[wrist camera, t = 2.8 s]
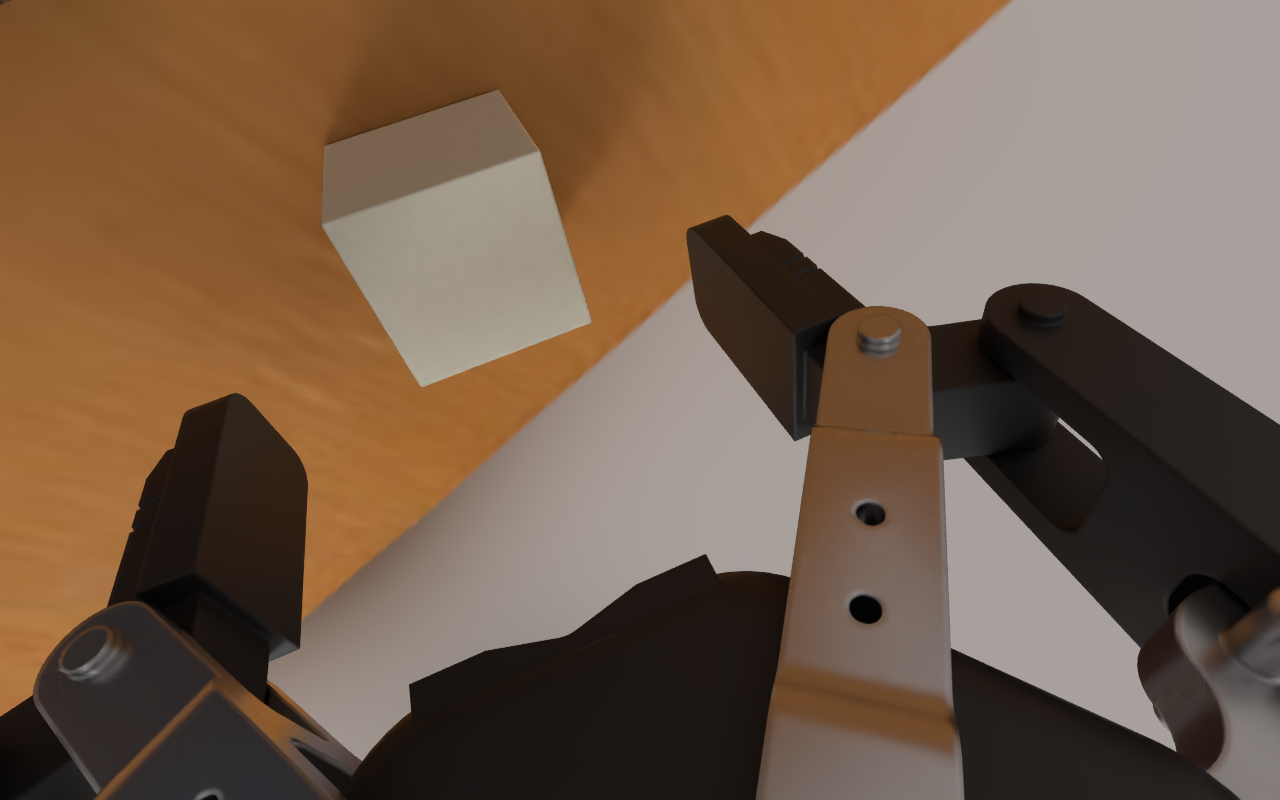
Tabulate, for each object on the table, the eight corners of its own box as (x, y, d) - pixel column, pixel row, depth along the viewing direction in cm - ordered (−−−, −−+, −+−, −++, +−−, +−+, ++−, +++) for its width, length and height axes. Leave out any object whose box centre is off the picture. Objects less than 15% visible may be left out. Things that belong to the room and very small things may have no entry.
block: (322, 145, 13) (319, 224, 11) (498, 88, 14) (539, 149, 11) (406, 294, 16) (420, 388, 13) (549, 242, 17) (592, 322, 14)
